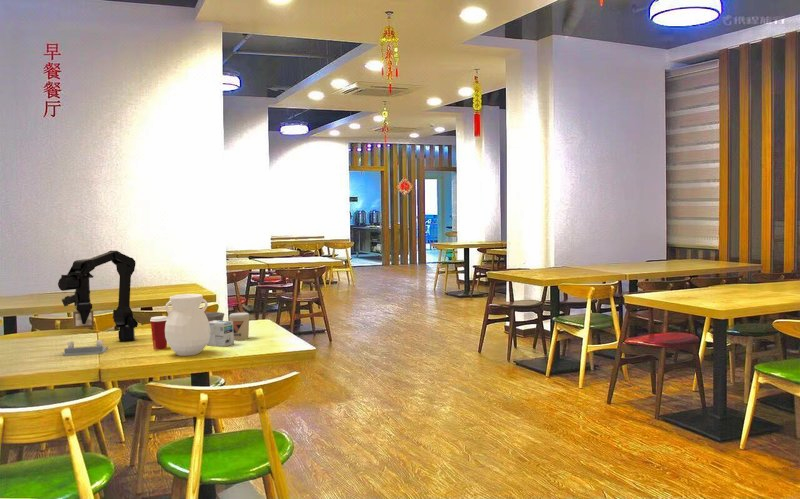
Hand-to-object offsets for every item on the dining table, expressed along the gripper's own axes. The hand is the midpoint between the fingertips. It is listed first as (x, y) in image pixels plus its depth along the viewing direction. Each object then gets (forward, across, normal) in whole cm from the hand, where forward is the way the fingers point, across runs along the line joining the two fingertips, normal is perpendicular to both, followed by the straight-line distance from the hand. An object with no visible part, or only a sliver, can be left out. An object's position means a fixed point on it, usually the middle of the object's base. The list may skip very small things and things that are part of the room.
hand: (83, 323), depth 302 cm
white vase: (+12, +35, +38) cm, 53 cm away
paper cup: (+12, +15, +30) cm, 35 cm away
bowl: (+11, -12, +55) cm, 57 cm away
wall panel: (+12, +5, 0) cm, 13 cm away
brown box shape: (+2, 0, 0) cm, 2 cm away
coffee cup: (+11, +13, +66) cm, 68 cm away
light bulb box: (+12, +22, +55) cm, 60 cm away
